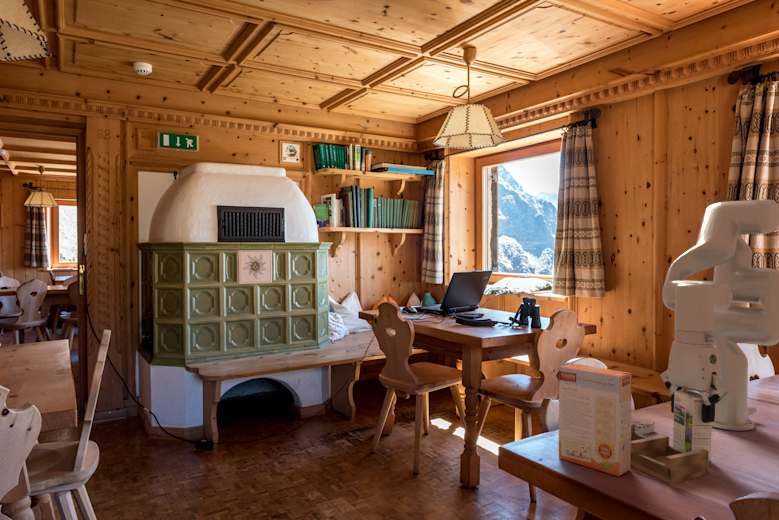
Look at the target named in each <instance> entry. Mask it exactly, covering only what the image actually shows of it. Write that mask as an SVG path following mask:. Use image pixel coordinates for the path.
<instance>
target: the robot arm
mask: <svg viewBox="0 0 779 520" xmlns="http://www.w3.org/2000/svg"><path fill="white" fill-rule="evenodd" d="M778 227H779V204H778V203H777V202H776V201H775V200H774V199H751V200H749V199H748V200H733V201H731V200H729V201H720V202H719V201H718V202H715V203H712V204H710V205H708V206H707V207H705V210H704V214H703V217H702V222H701V224H700V228H699V232H698V236H697V239H696V243H695V245H694V246H693V247H691V248H689V249H688V250H686V251H685V252H683V254H680V256H678V258H676V259H675V260H674V261H673V262H672V263H671V265H670V266H669V268H668V270H667V273H666V276H665V280H664V283H663V286H662V294H661V296H662V297H661V298H662V302H663V305H664V306H665V307H666V308H667V309H668V310H669V309H670V310H671V311H674V340H673V341H672V343H671V347H670V350H669V351H670V352H669V356H668V357H669V358H668V367H667V369H666V370H664V371H663V372H662V373H660V378H661V380H662V381H663V383H664V386H665V387H666V389H667V390H668V394H669V395H670V407H671V409H670V411H671V413H672V414H674V392H675V391H680V390H684V389H687V390H691V391H697V392H699V393H701V395H702V398H703V400H704V402H705V404H702V422H704V423H709V422H712V428H717V429H720V430H725V431H726V430H728V431H738V432H740V431H741V432H742V431H750V430H753V429H755V423H754V421H752V419H749V416H751V415H755V414H757V411H758V410H757V408H756V407H754V406H750V407H749V406H748V383H749V382H748V380H749V379H748V375H749V361H748V357H747V355H746V354H745V352H744V351H743V350H742V348H741V347H740V346H739V345H738V344H747V345H757V346H766V347H767V346H769V347H770V346H775V345H777V344H779V270H777V269H774V268H771V267H752V260H753V251H752V248H751V246H750V245H749V244H748V243H747V242H746V240H744V239H743V238H742V237H741V236H740V235H766V234H769V233H773V232H775V230H777V228H778ZM712 268H714V269H713V280H702V279H701V280H700V279H699V280H698V279H687V278H688V277H690V276H692V275H694V274H696V273H698V272H701V271H705V270H709V269H712ZM733 303H739V304H758V305H759V306H761V307H745V306H737V305H734V306H733V305H732V304H733ZM709 397H710V398H709Z"/></svg>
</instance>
